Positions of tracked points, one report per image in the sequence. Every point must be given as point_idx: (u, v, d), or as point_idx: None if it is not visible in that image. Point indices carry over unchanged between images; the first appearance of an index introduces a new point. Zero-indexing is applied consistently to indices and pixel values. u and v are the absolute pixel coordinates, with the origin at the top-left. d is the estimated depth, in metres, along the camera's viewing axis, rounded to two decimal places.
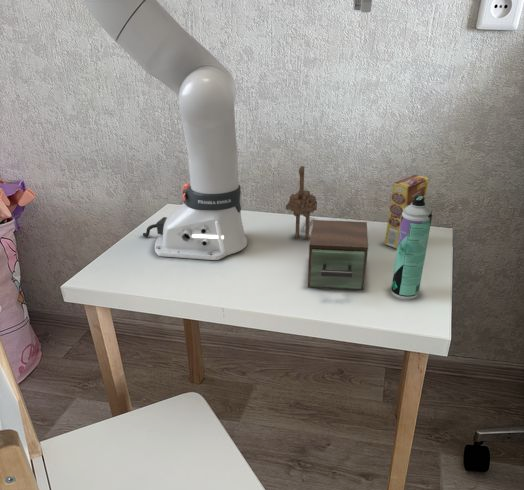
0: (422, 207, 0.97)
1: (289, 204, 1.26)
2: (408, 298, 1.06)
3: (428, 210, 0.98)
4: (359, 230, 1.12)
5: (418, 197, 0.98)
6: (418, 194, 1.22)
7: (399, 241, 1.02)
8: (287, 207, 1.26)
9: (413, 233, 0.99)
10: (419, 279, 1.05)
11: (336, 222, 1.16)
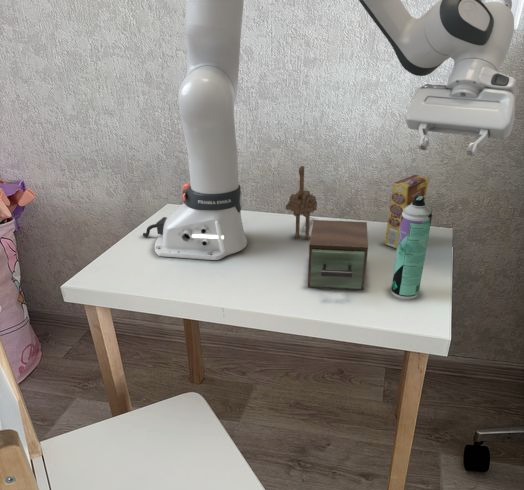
0: (422, 207, 0.97)
1: (289, 204, 1.26)
2: (408, 298, 1.06)
3: (428, 210, 0.98)
4: (359, 230, 1.12)
5: (418, 197, 0.98)
6: (418, 194, 1.22)
7: (399, 241, 1.02)
8: (287, 207, 1.26)
9: (413, 233, 0.99)
10: (419, 279, 1.05)
11: (336, 222, 1.16)
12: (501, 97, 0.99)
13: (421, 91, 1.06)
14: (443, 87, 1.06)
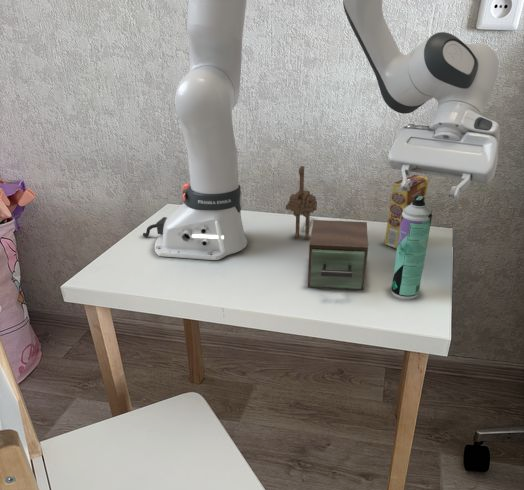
0: (422, 207, 0.97)
1: (289, 204, 1.26)
2: (408, 298, 1.06)
3: (428, 210, 0.98)
4: (359, 230, 1.12)
5: (418, 197, 0.98)
6: (418, 194, 1.22)
7: (399, 241, 1.02)
8: (287, 207, 1.26)
9: (413, 233, 0.99)
10: (419, 279, 1.05)
11: (336, 222, 1.16)
12: (484, 142, 0.97)
13: (404, 131, 1.05)
14: (426, 128, 1.04)
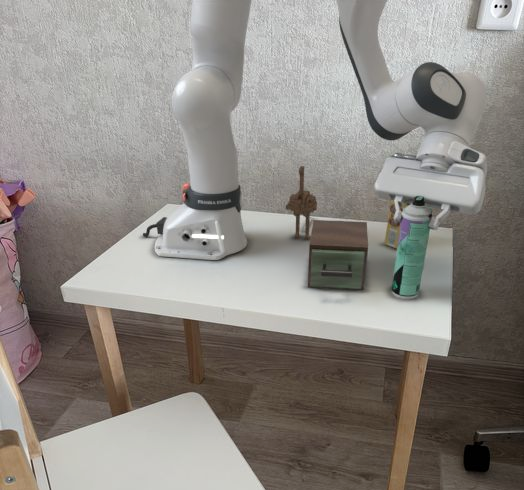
0: (422, 207, 0.97)
1: (289, 204, 1.26)
2: (408, 298, 1.06)
3: (428, 210, 0.98)
4: (359, 230, 1.12)
5: (418, 197, 0.98)
6: None
7: (399, 241, 1.02)
8: (287, 207, 1.26)
9: (413, 233, 0.99)
10: (419, 279, 1.05)
11: (336, 222, 1.16)
12: (470, 173, 0.96)
13: (391, 161, 1.03)
14: (413, 157, 1.03)
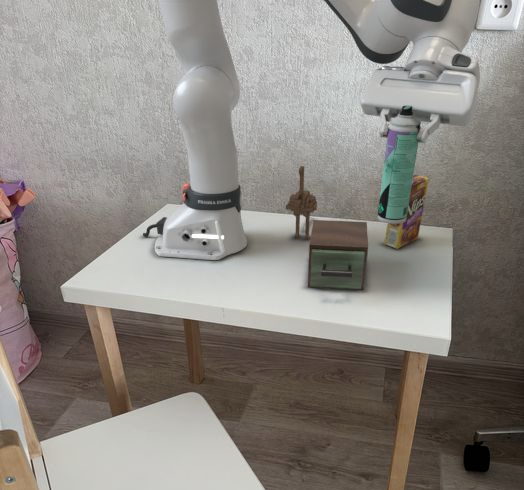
0: (410, 117, 0.91)
1: (289, 204, 1.26)
2: (395, 222, 1.00)
3: (416, 121, 0.91)
4: (359, 230, 1.12)
5: (406, 106, 0.91)
6: (418, 194, 1.22)
7: (385, 157, 0.96)
8: (287, 207, 1.26)
9: (400, 146, 0.92)
10: (407, 201, 0.99)
11: (336, 222, 1.16)
12: (462, 80, 0.89)
13: (378, 73, 0.97)
14: (402, 69, 0.96)
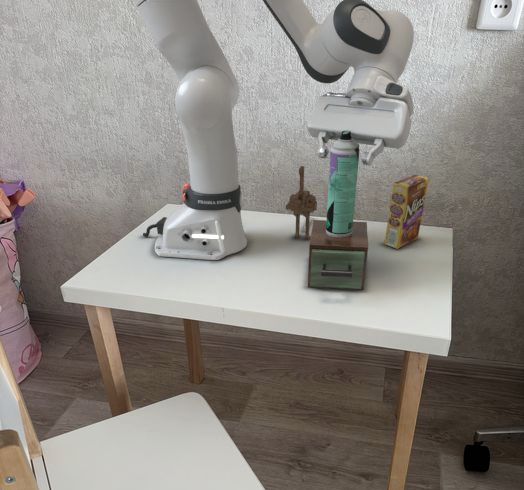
0: (348, 141, 0.99)
1: (289, 204, 1.26)
2: (341, 236, 1.09)
3: (355, 144, 1.00)
4: (359, 230, 1.12)
5: (345, 131, 1.00)
6: (418, 194, 1.22)
7: (329, 177, 1.04)
8: (287, 207, 1.26)
9: (341, 167, 1.01)
10: (351, 216, 1.07)
11: None
12: (395, 107, 0.98)
13: (322, 99, 1.05)
14: (344, 95, 1.05)
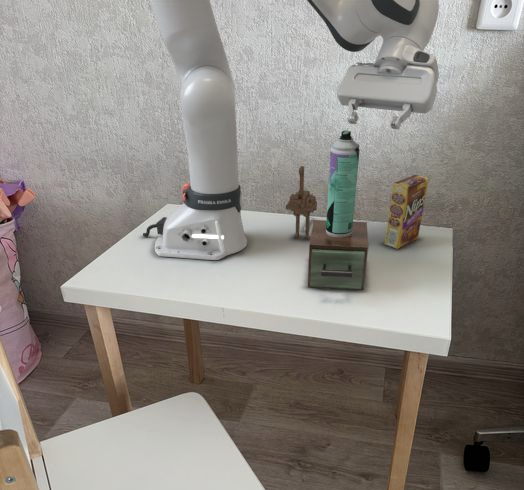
0: (348, 141, 0.99)
1: (289, 204, 1.26)
2: (341, 236, 1.09)
3: (355, 144, 1.00)
4: (359, 230, 1.12)
5: (345, 131, 1.00)
6: (418, 194, 1.22)
7: (329, 177, 1.04)
8: (287, 207, 1.26)
9: (341, 167, 1.01)
10: (351, 216, 1.07)
11: None
12: (422, 74, 1.04)
13: (352, 68, 1.12)
14: (372, 65, 1.11)
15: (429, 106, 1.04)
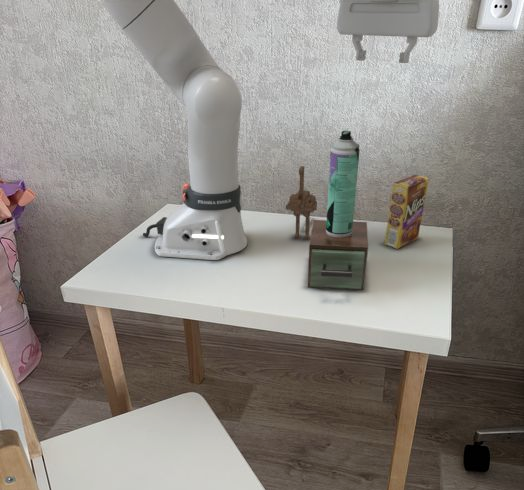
0: (348, 141, 0.99)
1: (289, 204, 1.26)
2: (341, 236, 1.09)
3: (355, 144, 1.00)
4: (359, 230, 1.12)
5: (345, 131, 1.00)
6: (418, 194, 1.22)
7: (329, 177, 1.04)
8: (287, 207, 1.26)
9: (341, 167, 1.01)
10: (351, 216, 1.07)
11: None
12: (418, 0, 0.99)
13: None
14: None
15: (433, 32, 1.02)
